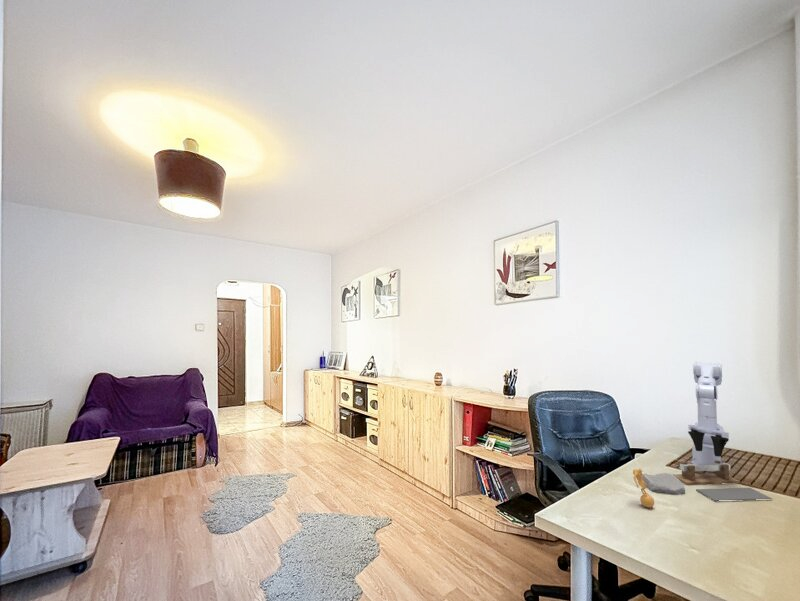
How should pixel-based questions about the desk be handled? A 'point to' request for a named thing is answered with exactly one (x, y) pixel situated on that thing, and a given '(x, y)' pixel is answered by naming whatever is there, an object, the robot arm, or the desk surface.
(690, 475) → the wooden two-post cradle
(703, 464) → the rail
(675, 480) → the stone block
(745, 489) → the mat
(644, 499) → the figurine
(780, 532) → the desk surface
